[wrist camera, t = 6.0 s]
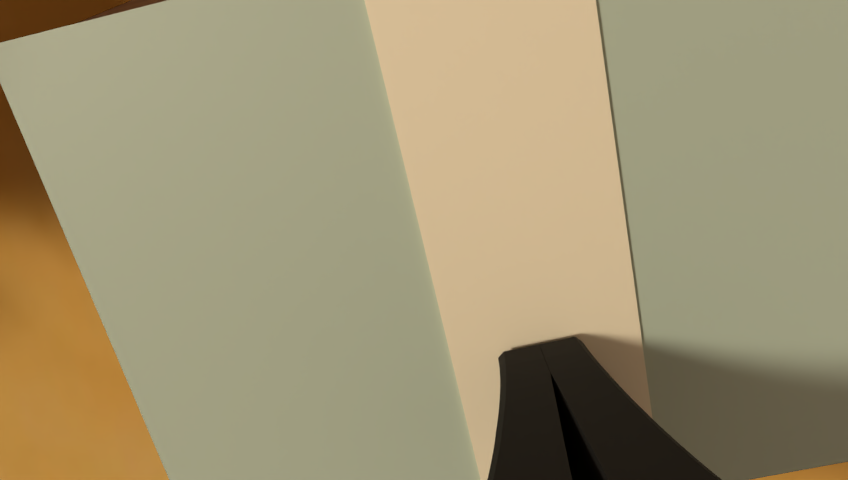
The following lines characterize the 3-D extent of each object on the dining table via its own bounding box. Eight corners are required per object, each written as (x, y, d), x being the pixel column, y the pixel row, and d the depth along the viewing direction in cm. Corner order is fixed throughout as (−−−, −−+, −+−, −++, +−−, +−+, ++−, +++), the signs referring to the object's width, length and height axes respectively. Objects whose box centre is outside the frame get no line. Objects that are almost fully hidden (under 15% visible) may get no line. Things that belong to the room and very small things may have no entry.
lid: (939, 412, 12) (978, 441, 11) (223, 546, 13) (209, 582, 12) (957, -192, 9) (1012, -214, 8) (17, 45, 10) (-21, 46, 9)
